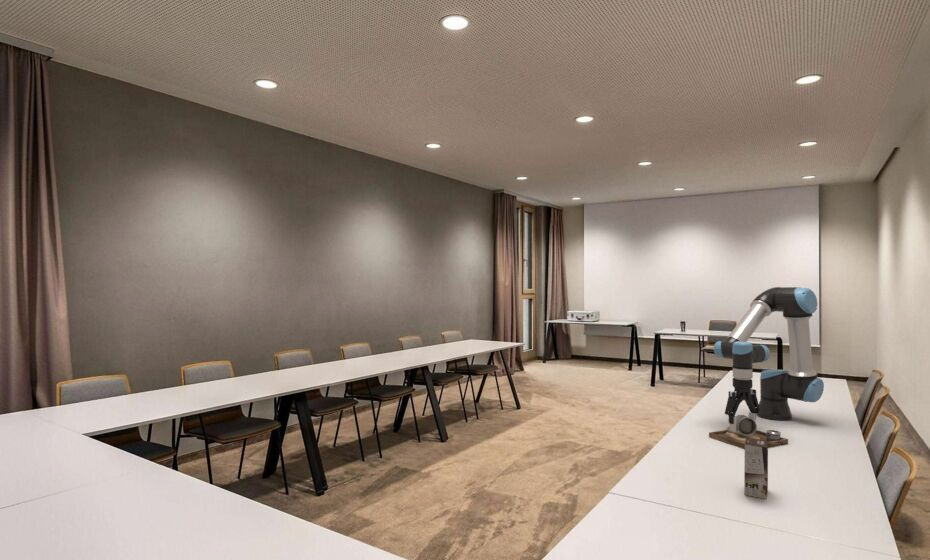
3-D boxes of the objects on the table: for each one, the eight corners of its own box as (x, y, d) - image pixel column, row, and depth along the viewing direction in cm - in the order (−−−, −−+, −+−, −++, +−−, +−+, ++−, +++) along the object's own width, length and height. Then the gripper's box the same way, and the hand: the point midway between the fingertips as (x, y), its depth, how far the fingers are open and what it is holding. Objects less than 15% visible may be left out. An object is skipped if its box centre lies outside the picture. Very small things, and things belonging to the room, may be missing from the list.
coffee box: (767, 499, 162) (767, 447, 162) (743, 495, 166) (743, 444, 166) (768, 489, 170) (768, 439, 170) (746, 485, 173) (746, 436, 173)
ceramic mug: (749, 430, 228) (748, 412, 228) (757, 436, 220) (756, 417, 220) (723, 430, 229) (723, 412, 229) (730, 435, 221) (730, 417, 221)
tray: (745, 431, 235) (745, 426, 235) (788, 444, 216) (787, 439, 216) (709, 437, 226) (709, 432, 226) (750, 451, 208) (750, 446, 208)
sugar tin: (771, 440, 222) (771, 429, 222) (783, 443, 217) (783, 432, 217) (763, 441, 219) (763, 430, 219) (774, 445, 215) (774, 434, 215)
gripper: (753, 374, 232) (753, 424, 232) (715, 378, 222) (715, 430, 223) (769, 377, 225) (769, 428, 225) (730, 382, 216) (730, 435, 216)
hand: (742, 429), depth 224 cm, fingers closed on ceramic mug, 11 cm apart
